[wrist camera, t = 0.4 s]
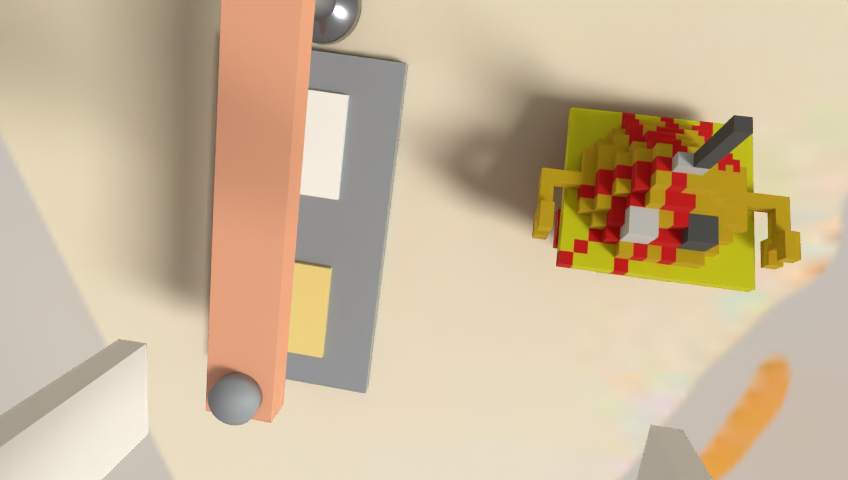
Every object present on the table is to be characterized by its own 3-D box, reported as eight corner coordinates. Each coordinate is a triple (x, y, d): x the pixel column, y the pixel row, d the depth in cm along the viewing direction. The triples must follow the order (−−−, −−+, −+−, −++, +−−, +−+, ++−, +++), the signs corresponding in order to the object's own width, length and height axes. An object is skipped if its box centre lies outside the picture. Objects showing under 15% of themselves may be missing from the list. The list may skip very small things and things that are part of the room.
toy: (515, 283, 36) (563, 211, 22) (529, 152, 39) (580, 10, 24) (721, 311, 35) (915, 255, 21) (721, 174, 38) (893, 40, 23)
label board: (234, 40, 36) (224, 37, 35) (408, 64, 35) (404, 62, 34) (219, 359, 42) (211, 368, 41) (368, 386, 41) (364, 396, 40)
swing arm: (287, -25, 33) (213, -77, 24) (350, -17, 33) (299, -66, 24) (262, 348, 40) (196, 420, 30) (314, 357, 39) (264, 432, 30)
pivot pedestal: (289, -42, 34) (283, -48, 33) (365, -33, 34) (361, -38, 33) (284, 39, 36) (277, 37, 34) (357, 49, 35) (353, 47, 34)
